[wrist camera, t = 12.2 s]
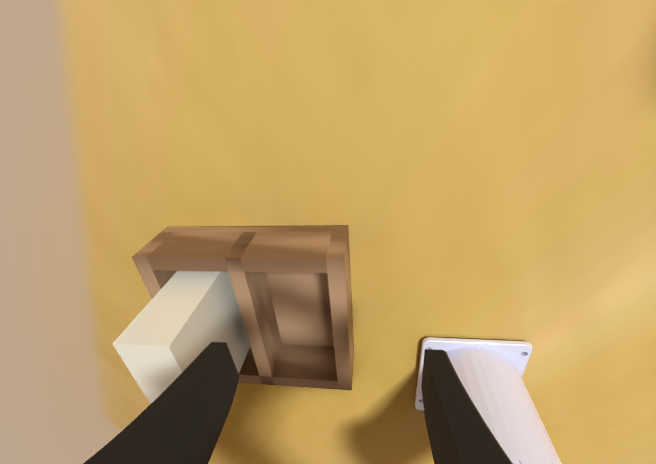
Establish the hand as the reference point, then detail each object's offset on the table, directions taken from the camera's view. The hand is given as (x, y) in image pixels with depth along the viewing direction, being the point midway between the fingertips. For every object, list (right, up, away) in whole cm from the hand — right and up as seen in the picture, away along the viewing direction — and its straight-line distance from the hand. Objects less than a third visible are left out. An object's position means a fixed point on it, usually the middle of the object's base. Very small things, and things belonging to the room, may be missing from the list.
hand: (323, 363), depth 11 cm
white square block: (-8, 0, +12) cm, 14 cm away
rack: (-4, 0, +13) cm, 14 cm away
